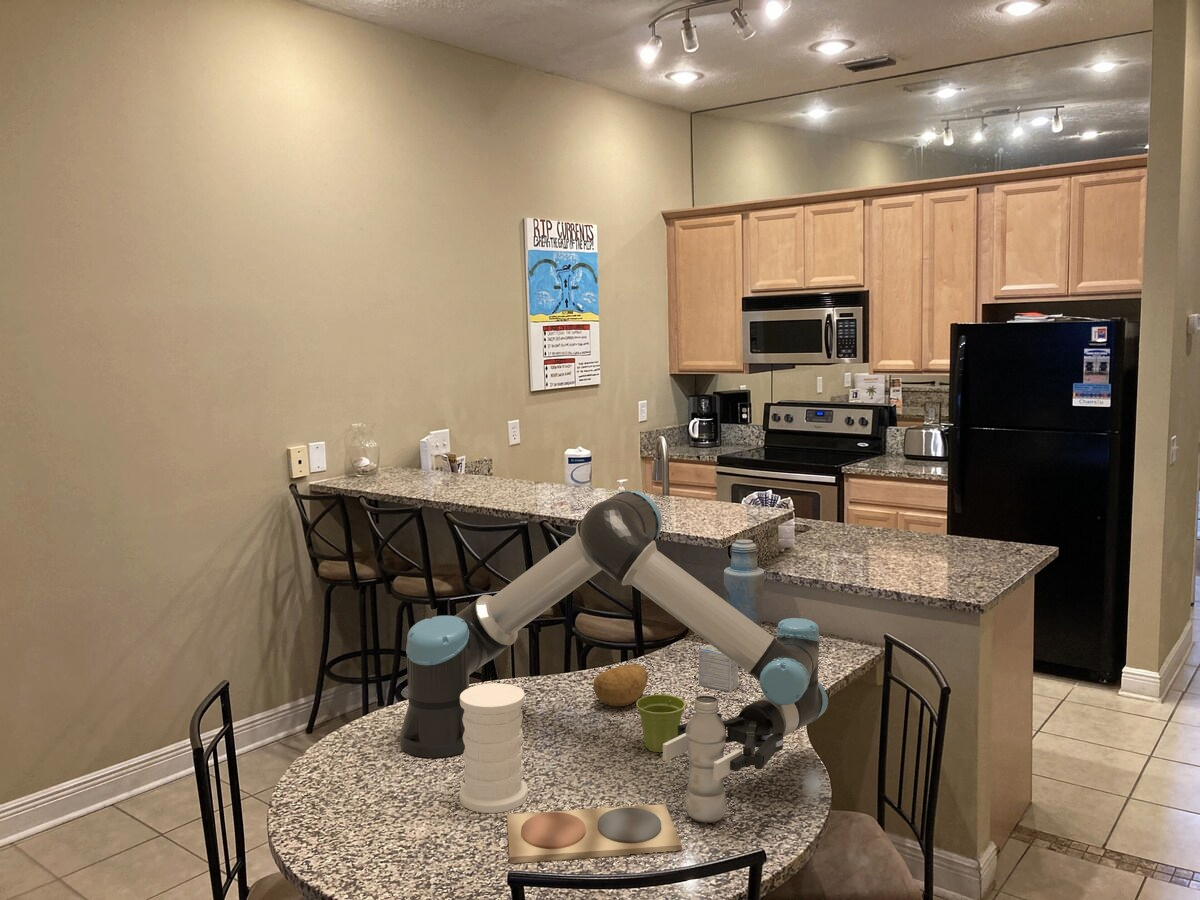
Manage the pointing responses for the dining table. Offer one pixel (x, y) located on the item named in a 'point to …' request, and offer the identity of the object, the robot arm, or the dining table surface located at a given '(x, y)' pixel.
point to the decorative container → (493, 748)
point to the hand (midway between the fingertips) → (689, 761)
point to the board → (590, 833)
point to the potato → (621, 684)
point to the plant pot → (660, 719)
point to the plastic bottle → (705, 761)
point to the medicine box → (717, 670)
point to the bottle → (745, 581)
